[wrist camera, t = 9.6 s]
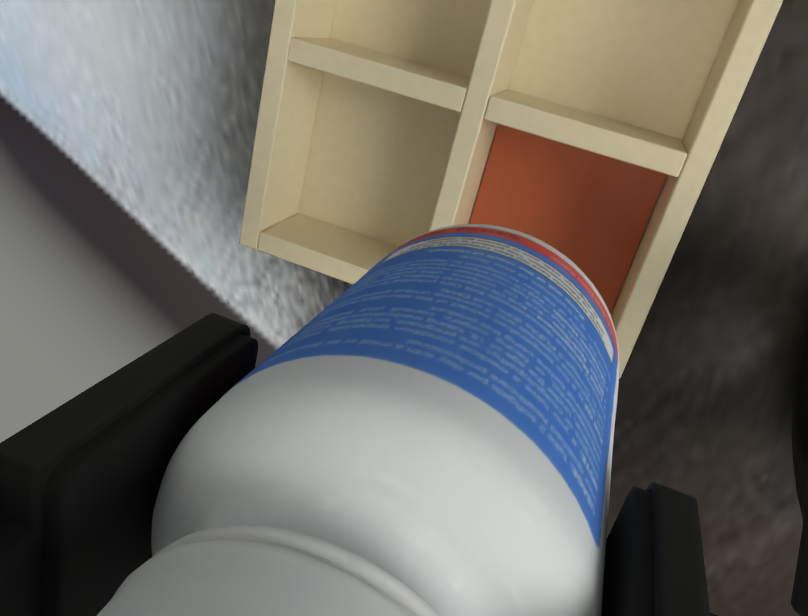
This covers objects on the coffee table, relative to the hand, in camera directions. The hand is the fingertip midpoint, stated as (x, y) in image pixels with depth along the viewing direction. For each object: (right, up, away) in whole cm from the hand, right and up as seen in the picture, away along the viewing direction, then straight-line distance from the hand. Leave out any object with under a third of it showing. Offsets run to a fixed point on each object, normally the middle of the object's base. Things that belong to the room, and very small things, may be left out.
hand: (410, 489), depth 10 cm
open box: (+4, +11, +17) cm, 20 cm away
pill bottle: (+2, +2, +4) cm, 5 cm away
